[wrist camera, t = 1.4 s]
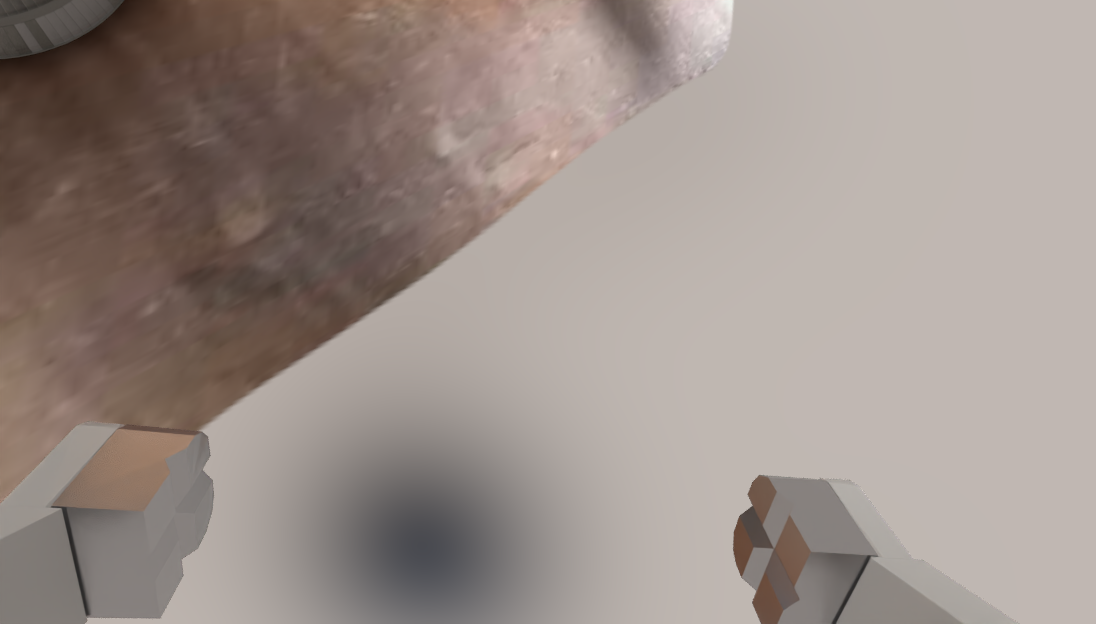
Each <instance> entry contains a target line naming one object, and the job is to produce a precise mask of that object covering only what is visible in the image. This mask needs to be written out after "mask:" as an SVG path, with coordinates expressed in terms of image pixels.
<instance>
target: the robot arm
mask: <svg viewBox="0 0 1096 624" xmlns="http://www.w3.org/2000/svg"><path fill="white" fill-rule="evenodd" d="M209 457H210V449H209V441H208V436H207V435H205V434H204V433H203V432H200V431H190V430H180V429H169V428H159V427H149V426H139V425H129V424H127V425H122V424H113V423H103V422H92V421H87V422H84V423H81V424H79V425H77V426H75V427H74V428H73V429H72V430H71V431H70V432H69V433H68V434H67V435H66V436H65V437H64V438H63V440H62V441H61V442H60V443H59V444H58V445H57V446H56V447H55V448H54V449H53V450H52V451H51V452H50V453H49V454H48V455H47V456H46V457H45V458H44V459H43V460H42V461H41V462H40V463H39V464H38V465H37V466H36V467H35V468H34V469H33V470H32V471H31V472H30V474H29V475H28V476H27V477H26V478H25V479H24V480H23V481H22V482H21V483H20V484H19V485H18V486H17V487H16V488H15V489H14V490H13V491H12V492H11V493H10V494H9V495H8V496H7V497H6V498H5V499H4V500H3V501H2V502H1V503H0V624H85V623H86V622H87V618H161V616H162V614H163V612H164V610H165V608H166V607H167V605H168V603H169V601H170V600H171V598H172V596H173V594H174V592H175V590H176V588H177V587H178V585H179V583H180V581H181V579H182V577H183V568H182V559H183V558H184V557H186V556H187V555H189V554H190V553H192V552H193V551H195V550H196V549H198V547H199V545H200V543H201V541H202V539H203V537H204V535H205V533H206V531H207V527H208V524H209V520H210V517H211V514H212V508H213V497H214V491H213V480H212V479H211V478H210V477H209V476H208V475H207V474H206V473H205V472H204V471H203V470H202V469H203V467H204V465H205V464H206V462H207V460H208V459H209ZM748 496H749V499H750V501H751V503H752V505H753V506H752V507H750V508H749V509H748V510H747V511H745V512H744V513H743V514H741V515H740V516H739V518H738V522H737V525H736V527H735V530H734V541H733V542H734V543H733V551H734V556H735V561H736V565H737V567H738V570H739V573H740V575H741V577H742V579H744V580H745V581H746V582H747V583H748V584H749V585H751V586H752V587H753V588H754V589H755V590H756V593H755V596H754V599H753V601H752V604H753V606H754V608H755V611H756V613H757V615H758V618H759V620H760V622H761V624H1019V623H1018V622H1016V621H1015V620H1013V619H1012V618H1010V617H1009V616H1007V615H1006V614H1004V613H1003V612H1001V611H999V610H998V609H996V608H995V607H993V606H992V605H990V604H989V603H987V602H986V601H984V600H983V599H981V598H980V597H978V596H977V595H975V594H974V593H972V592H971V591H969V590H968V589H966V588H965V587H963V586H962V585H960V584H958V583H957V582H956V581H954V580H953V579H951V578H950V577H948V576H947V575H945V574H944V573H942V572H941V571H939V570H937V569H936V568H934V567H933V566H931V565H930V564H928V563H927V562H925V561H924V560H916V559H913V558H912V556H911V555H910V554H909V552H908V551H907V550H906V548H905V547H904V546H903V544H902V543H901V542H900V540H899V539H898V538H897V536H896V535H895V534H894V532H893V531H892V530H891V528H890V527H889V526H888V524H887V523H886V522H885V520H884V519H883V518H882V516H881V515H880V514H879V512H878V511H877V509H876V508H875V507H874V505H873V504H872V503H871V501H870V500H869V499H868V497H867V496H866V495H865V493H864V492H863V491H862V489H861V488H860V487H859V486H858V485H857V484H855V483H854V482H852V481H851V480H840V479H821V478H820V479H808V478H793V477H779V476H765V475H759V476H758V477H757V478H756V479H755V480H754V481H753V482H752V485H751V487H750V490H749V492H748Z"/></svg>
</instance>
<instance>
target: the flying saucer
mask: <svg viewBox="0 0 1096 624" xmlns="http://www.w3.org/2000/svg"><path fill="white" fill-rule="evenodd" d="M123 1H124V0H0V59H8V58H15V57H22V56H27V55H32V54H36V53H40V52H44V51H47V50H50V49H53V48H56V47H59V46H61V45H64V44H67V43H69V42H71V41H73V40H75V39H77V38H79V37H81V36H83V35H84V34H86V33H88V32H89V31H91V30H92V29H94V28H95V27H97V26H98V25H99V24H101V23H102V22H103V21H105V20H106V19H107V18H108V17H109V16H110V15H111V14H112V13H113V12H114V11H115V10H116V9H117V8H118V7H119V6H120V5H121V3H122V2H123Z"/></svg>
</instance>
